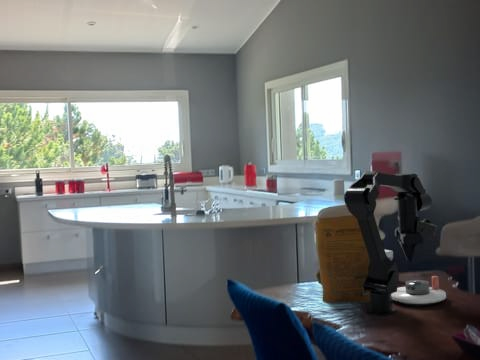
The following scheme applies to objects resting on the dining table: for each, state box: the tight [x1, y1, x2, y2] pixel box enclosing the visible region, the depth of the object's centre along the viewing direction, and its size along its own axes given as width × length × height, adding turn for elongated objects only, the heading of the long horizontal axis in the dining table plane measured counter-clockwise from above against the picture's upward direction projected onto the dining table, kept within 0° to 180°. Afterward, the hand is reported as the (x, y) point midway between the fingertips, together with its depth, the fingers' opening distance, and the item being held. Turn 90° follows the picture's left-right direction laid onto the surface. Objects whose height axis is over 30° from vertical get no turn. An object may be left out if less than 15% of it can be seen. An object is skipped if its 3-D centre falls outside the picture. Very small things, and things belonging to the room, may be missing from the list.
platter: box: [391, 275, 447, 304], centre depth 177 cm, size 17×17×5 cm
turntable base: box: [399, 302, 438, 307], centre depth 177 cm, size 12×12×1 cm
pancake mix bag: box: [314, 214, 371, 304], centre depth 180 cm, size 7×19×28 cm, turn 84°
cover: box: [404, 279, 430, 295], centre depth 177 cm, size 7×7×4 cm
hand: (410, 262), depth 178 cm, fingers closed
